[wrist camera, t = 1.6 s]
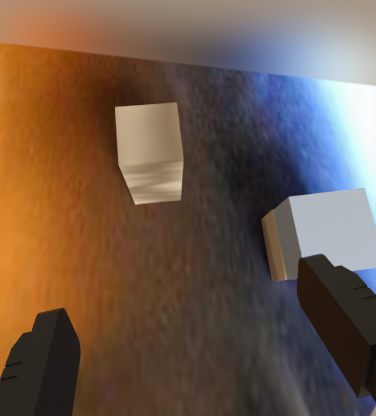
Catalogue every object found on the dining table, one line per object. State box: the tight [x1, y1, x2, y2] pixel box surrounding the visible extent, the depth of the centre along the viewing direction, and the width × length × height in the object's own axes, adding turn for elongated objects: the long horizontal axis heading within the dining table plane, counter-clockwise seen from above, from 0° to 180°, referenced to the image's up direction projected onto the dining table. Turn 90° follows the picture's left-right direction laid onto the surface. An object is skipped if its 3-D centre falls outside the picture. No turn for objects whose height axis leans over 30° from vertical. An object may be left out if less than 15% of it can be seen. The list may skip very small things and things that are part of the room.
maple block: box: [115, 103, 183, 204], centre depth 28 cm, size 4×4×10 cm
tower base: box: [261, 209, 287, 281], centre depth 30 cm, size 6×6×4 cm
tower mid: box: [273, 188, 376, 280], centre depth 26 cm, size 6×6×4 cm
